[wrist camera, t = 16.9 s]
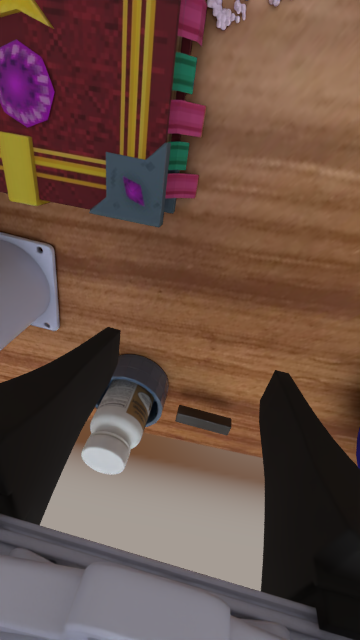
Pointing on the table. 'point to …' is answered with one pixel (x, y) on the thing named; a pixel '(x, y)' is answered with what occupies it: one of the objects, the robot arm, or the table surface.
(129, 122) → the decorative book
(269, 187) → the table surface
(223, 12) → the pink molecule models
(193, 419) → the dark grey rectangular bar
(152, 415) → the dark grey open cylinder
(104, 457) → the pill bottle
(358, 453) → the ornament
